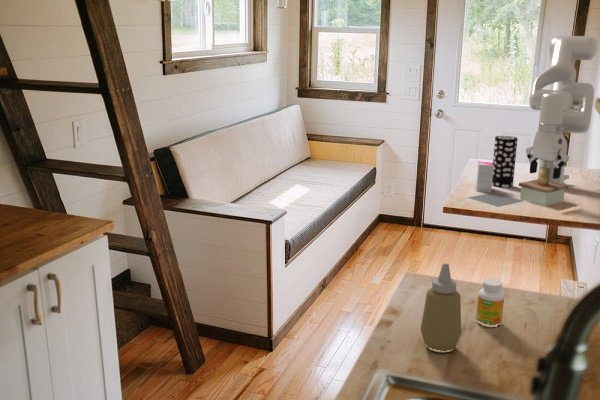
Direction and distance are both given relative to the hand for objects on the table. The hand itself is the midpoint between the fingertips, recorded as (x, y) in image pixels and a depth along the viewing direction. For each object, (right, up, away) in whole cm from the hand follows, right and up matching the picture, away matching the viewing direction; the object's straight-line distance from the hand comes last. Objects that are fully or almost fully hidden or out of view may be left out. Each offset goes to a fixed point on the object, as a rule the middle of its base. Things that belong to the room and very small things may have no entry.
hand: (544, 175), depth 232 cm
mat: (-16, -9, +4) cm, 19 cm away
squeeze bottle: (-60, -39, -101) cm, 123 cm away
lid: (0, -4, +1) cm, 4 cm away
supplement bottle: (-46, -36, -90) cm, 108 cm away
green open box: (0, -10, +3) cm, 10 cm away
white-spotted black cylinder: (-8, -4, +25) cm, 26 cm away
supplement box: (-17, -6, +17) cm, 25 cm away
